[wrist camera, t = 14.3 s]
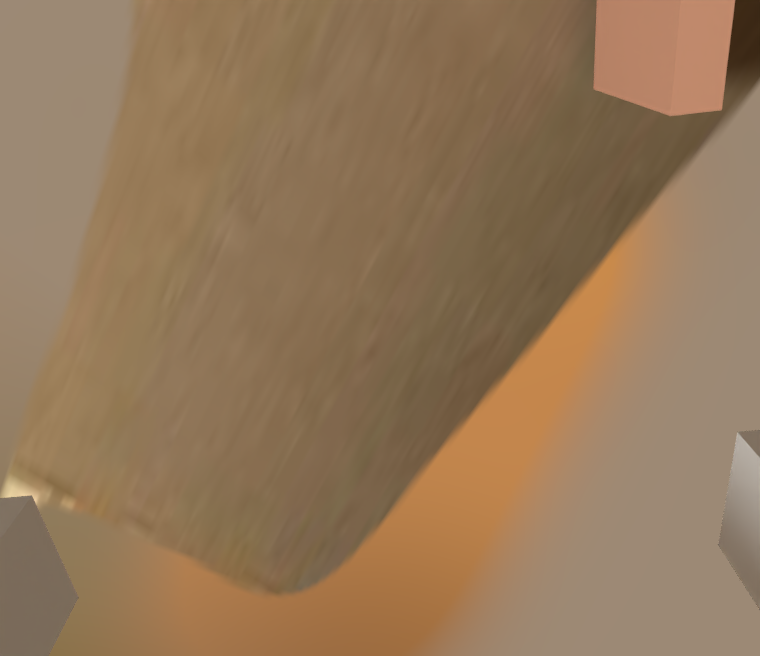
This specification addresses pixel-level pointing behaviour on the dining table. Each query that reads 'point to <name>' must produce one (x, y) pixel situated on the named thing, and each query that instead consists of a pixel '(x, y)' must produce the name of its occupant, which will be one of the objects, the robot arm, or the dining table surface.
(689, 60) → the stub
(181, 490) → the dining table surface
